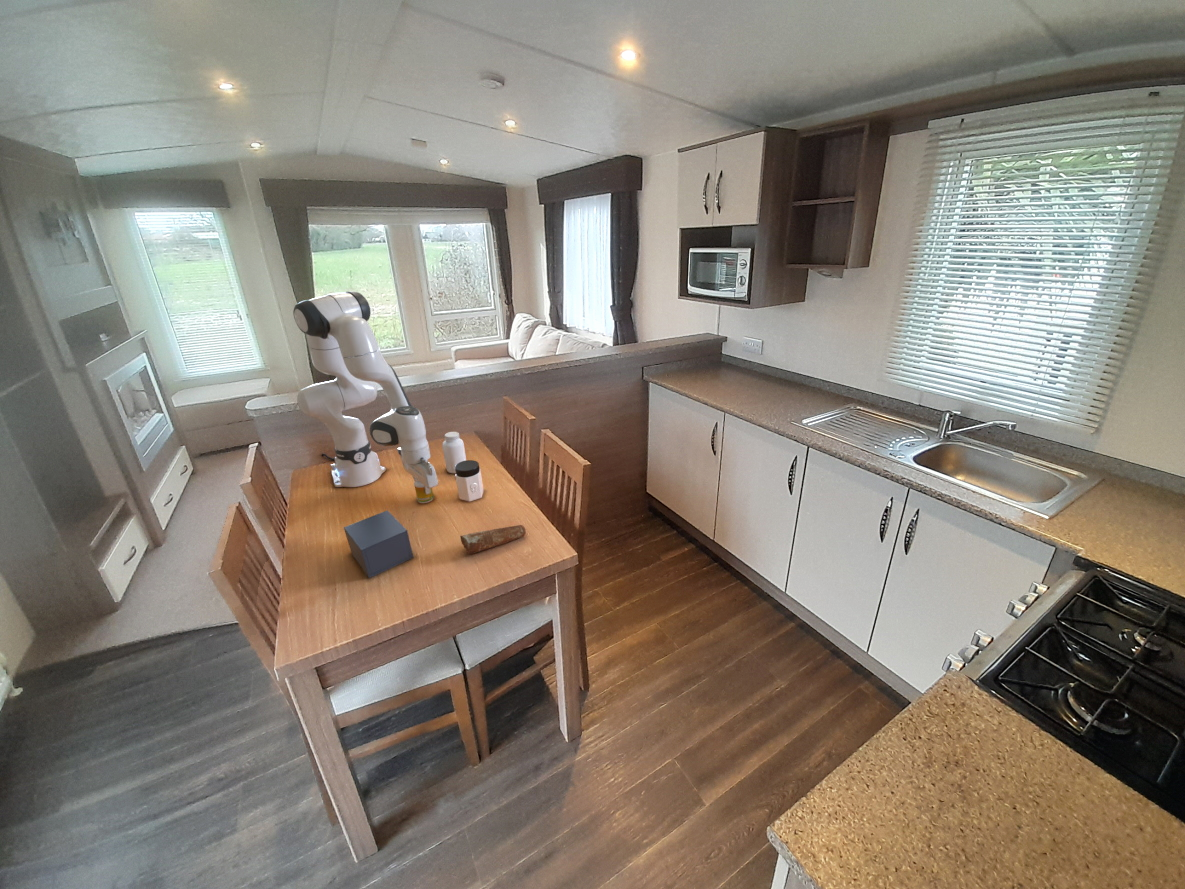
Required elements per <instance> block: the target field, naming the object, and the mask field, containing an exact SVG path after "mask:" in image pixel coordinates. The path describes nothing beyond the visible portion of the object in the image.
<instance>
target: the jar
mask: <svg viewBox="0 0 1185 889" xmlns="http://www.w3.org/2000/svg"><path fill="white" fill-rule="evenodd" d="M481 470H482V469H481V468H480V463H479V462H478V461H476V460H473V459H466V461H462V462H460V463H458V464H456V466H455V472H456V473H455V475H454V476H455V482H456V489H457V494H458V499H459V500H461V501H465V502H469V503H470V502H472V501H476V500H480V499H482V498H483V495H484V484H483V478H482V477H483V476H482V471H481Z"/></svg>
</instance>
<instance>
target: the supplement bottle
mask: <svg viewBox="0 0 1185 889" xmlns="http://www.w3.org/2000/svg"><path fill="white" fill-rule="evenodd" d="M415 480H416V481H414V483H413V485H414V490H415V495H416V500H417V502H418V503H420V504H427V503H430V502H432V501H433V500H434V499H435V497H434V492H433V488H430V489H431V493H429V494H426V493H425V492H424V488H425V486H424V485H423V484H422V483H421V482H419V481H418V480H417V478H416V477H415Z"/></svg>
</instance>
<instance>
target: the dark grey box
mask: <svg viewBox="0 0 1185 889" xmlns="http://www.w3.org/2000/svg"><path fill="white" fill-rule="evenodd" d="M343 530H344V533H345V537H346V540H347V543H348V547H349V550H350V554H351V555H352V557H353V559H354V560H355V561H356V562H357V564H358V565H359V567H360V568H361V569H362V570H363V572H364V573H365V575H366V576H367V577H368V578H369V579H371V578H373V577H376V576H378V575H380V574H382V573H385V572H386V571H388V570H390V569H393V568H395V567H397V566H399V565H401V564H403V563H406V562H408V561H410V560H412V559H414V553H413V549H412V545H411V541H410V536H409V533H408V532H409V531H408V530H407V528H406V527H405V526H403V524H402V523H401V522H400V521H399V520H398V519H397V518H396V517H395V516H394V515H393V514H392V513H391V512H390V511H389V510H388V509H386V510H384V511H382V512H379V513H377V514H373V515H371V516H369V517H366V518H364V519H361V520H358V521H356V522H354V523H350V524H348V525H346V526H344V527H343Z"/></svg>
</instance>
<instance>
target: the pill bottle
mask: <svg viewBox="0 0 1185 889" xmlns="http://www.w3.org/2000/svg"><path fill="white" fill-rule="evenodd" d="M441 446H442V452H443V459H444V463H445V468H446V471H447V473H448V474H449V473H450V474H456V472H455V466H456V464H458V463H460V462H462V461H466V460H467V457H466V456H467V455H466V449H465V443H464V440H463V439H462V438H460V433H459V432H458V431H449V432H446V433H445V434H444V441H443V442H442V445H441Z"/></svg>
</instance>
